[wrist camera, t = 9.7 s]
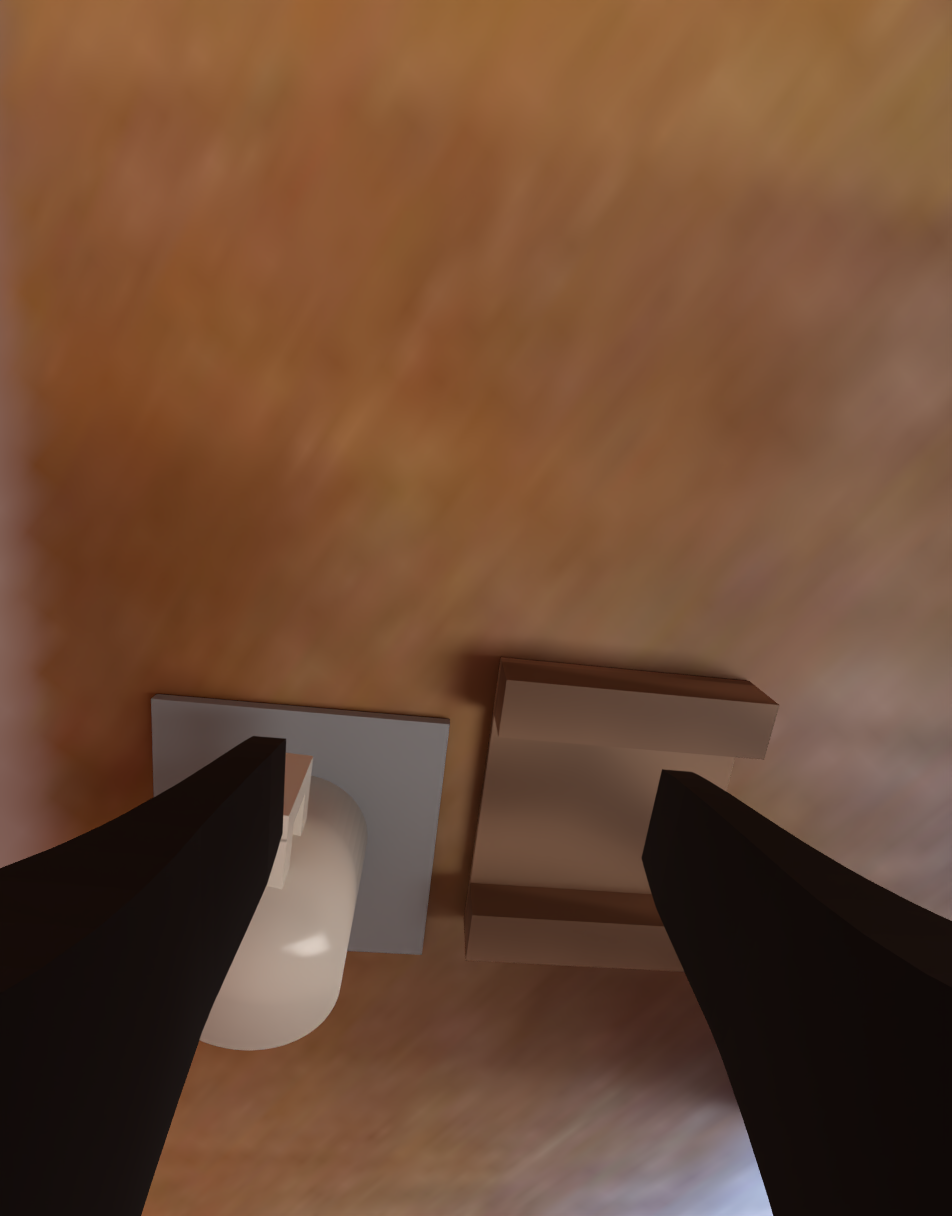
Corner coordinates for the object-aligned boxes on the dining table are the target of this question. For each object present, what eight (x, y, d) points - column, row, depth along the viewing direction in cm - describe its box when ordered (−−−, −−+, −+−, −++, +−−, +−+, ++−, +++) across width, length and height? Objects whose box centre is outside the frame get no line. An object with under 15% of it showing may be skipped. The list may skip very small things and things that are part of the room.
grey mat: (422, 946, 24) (421, 954, 23) (162, 932, 23) (157, 940, 23) (449, 719, 21) (449, 724, 21) (156, 693, 20) (151, 698, 20)
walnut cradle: (683, 930, 24) (704, 972, 22) (463, 917, 24) (465, 960, 22) (749, 680, 21) (779, 705, 19) (500, 656, 21) (507, 679, 19)
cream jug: (359, 898, 23) (331, 1056, 17) (223, 884, 22) (146, 1043, 16) (383, 727, 21) (360, 839, 15) (235, 708, 20) (152, 816, 14)
